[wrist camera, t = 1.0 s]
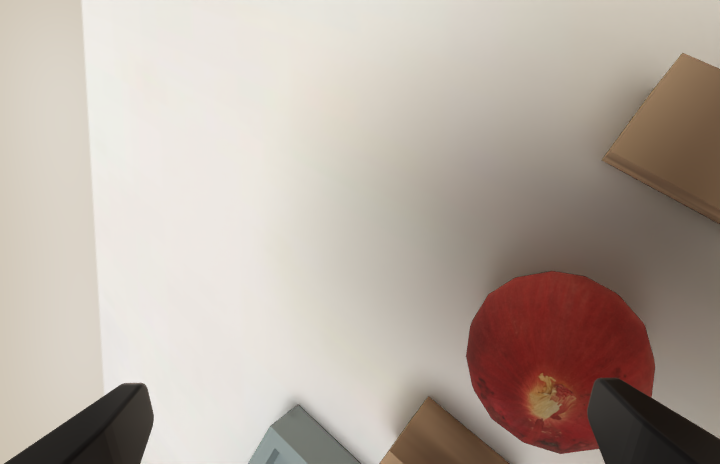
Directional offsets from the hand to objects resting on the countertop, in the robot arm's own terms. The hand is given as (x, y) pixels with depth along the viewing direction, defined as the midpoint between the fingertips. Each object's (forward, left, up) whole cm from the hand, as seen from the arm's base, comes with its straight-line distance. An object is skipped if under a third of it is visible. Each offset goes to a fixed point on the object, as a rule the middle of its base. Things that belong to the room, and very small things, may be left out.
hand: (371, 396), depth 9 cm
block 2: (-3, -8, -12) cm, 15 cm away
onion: (-3, 0, -12) cm, 13 cm away
